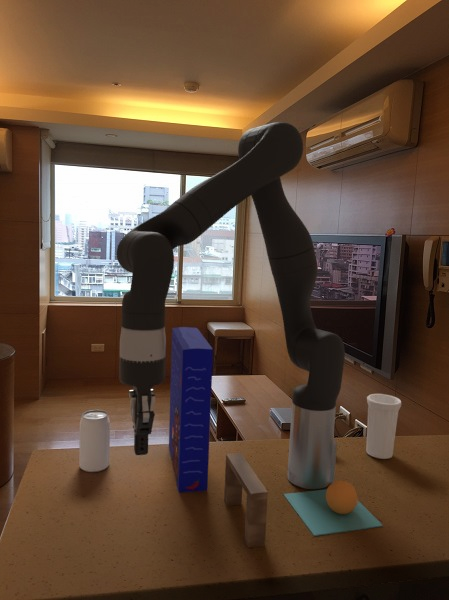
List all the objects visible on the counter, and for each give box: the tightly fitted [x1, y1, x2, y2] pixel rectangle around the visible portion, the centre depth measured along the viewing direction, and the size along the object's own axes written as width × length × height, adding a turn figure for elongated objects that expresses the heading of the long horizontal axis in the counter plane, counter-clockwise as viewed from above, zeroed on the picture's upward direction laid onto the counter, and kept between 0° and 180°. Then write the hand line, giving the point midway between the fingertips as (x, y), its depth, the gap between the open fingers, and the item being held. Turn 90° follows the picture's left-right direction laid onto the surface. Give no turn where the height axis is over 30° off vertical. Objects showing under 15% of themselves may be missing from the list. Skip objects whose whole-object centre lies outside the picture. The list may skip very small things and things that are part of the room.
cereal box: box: [168, 326, 214, 493], centre depth 108 cm, size 22×6×30 cm, turn 12°
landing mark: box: [283, 488, 384, 537], centre depth 95 cm, size 14×14×1 cm
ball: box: [326, 480, 359, 514], centre depth 94 cm, size 6×6×6 cm
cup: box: [365, 393, 402, 460], centre depth 120 cm, size 8×8×14 cm
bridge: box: [223, 452, 269, 548], centre depth 89 cm, size 3×15×10 cm, turn 16°
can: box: [78, 409, 111, 473], centre depth 108 cm, size 6×6×12 cm
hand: (140, 452), depth 83 cm, fingers closed
